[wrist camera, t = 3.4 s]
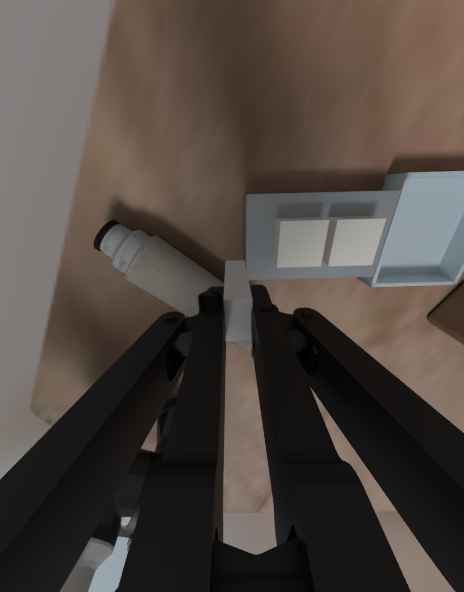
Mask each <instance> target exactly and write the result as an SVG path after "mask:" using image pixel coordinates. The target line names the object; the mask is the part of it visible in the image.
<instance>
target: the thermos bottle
mask: <svg viewBox="0 0 464 592" xmlns="http://www.w3.org/2000/svg"><path fill="white" fill-rule="evenodd" d="M94 248H95V249H97V250H98V251H103V252H104V253H105V254H106V255H107V256H109V257H111V258H112V259H113V266H114V267H115V268H117V269H119V271H120V272H124V273H125V274H126V275H125V279H126V280H128V281H129V282H131V283H133V284H134V285H136V286H138V287H139V288H141V289H143V290H144V291H146V292H148V293H149V294H151V295H153V296H154V297H156V298H158V299H159V300H161V301H163V302H164V303H166V304H168V305H169V306H171V307H173V308H174V309H176V310H178V311H179V312H181V313H183V314H184V315H186V316H188V317H191V316H195V315H197V314H198V313H199V304H198V295H199V294H200V293H202V292H205V291H207V289H209V288H210V287H215V286H224V283H223V282H222V281H220V280H219V279H218V278H216V277H215V276H213V275H212V274H211V273H209V272H208V271H207V270H205V269H204V268H202V267H201V266H199V265H198V264H197V263H195V262H194V261H192V260H191V259H189V258H188V257H187V256H185V255H184V254H182V253H181V252H179V251H178V250H177V249H175V248H174V247H172V246H171V245H169V244H168V243H167V242H165V241H164V240H162V239H161V238H159V237H158V236H153V237H150V236H148V235H147V234H146V232H142V231H141V230H135V231H130V230H129V229H127V228H126V227H124V226H121V225H120V223H118V222H117V221H116V220H111V221H109V222H108V223H106V224H105V225H104V226H103V227H102V228H101V230H100V231H99V232H98V234H97V236H96V238H95V240H94ZM230 342H231V343H233V344H235V345H236V346H238V347H240V348H241V349H243V350H249V349H251V348H252V336H251V341H230Z"/></svg>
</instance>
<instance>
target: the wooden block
mask: <svg viewBox="0 0 464 592" xmlns="http://www.w3.org/2000/svg"><path fill="white" fill-rule="evenodd" d="M428 320H429V322H430V323H431V324H432V325H434V326H435V327H437V328H438V329H440V330H442V331H443V332H445V333H446V334H448V335H449V336H451V337H452V338H454V339H455V340H457V341H458V342H460V343H462V344H463V345H464V283H463V284H462V285H461V286H460V287H459V288H458V289H456V290H455V291H454V292H453V293H452V294H451V295H450V296H449V297H448V298H447V299H446V300H445V301H444V302H443V303H442V304H441V305H440V306H439V307H438V308H437V309H436V310H435V311H433V312H432V313H431V314H430V315H429V316H428Z"/></svg>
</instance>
